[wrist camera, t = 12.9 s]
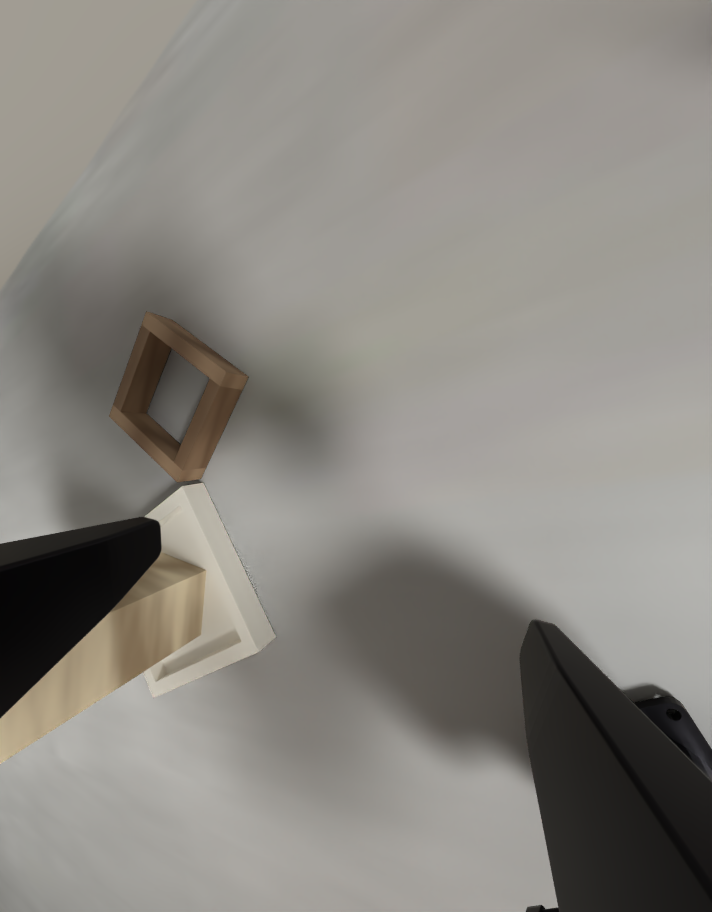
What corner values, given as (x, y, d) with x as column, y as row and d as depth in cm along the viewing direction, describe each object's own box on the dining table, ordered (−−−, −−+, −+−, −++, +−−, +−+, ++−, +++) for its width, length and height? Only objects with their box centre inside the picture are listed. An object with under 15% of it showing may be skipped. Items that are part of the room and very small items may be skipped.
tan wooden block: (206, 570, 25) (-67, 691, 13) (201, 634, 26) (-65, 805, 14) (158, 550, 27) (-117, 641, 15) (154, 611, 28) (-113, 743, 16)
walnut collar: (248, 376, 24) (226, 372, 22) (200, 478, 26) (177, 482, 24) (172, 319, 26) (146, 311, 24) (134, 417, 29) (108, 416, 27)
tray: (276, 636, 24) (258, 652, 22) (174, 683, 29) (153, 698, 27) (203, 482, 26) (182, 486, 24) (118, 548, 31) (96, 555, 29)
